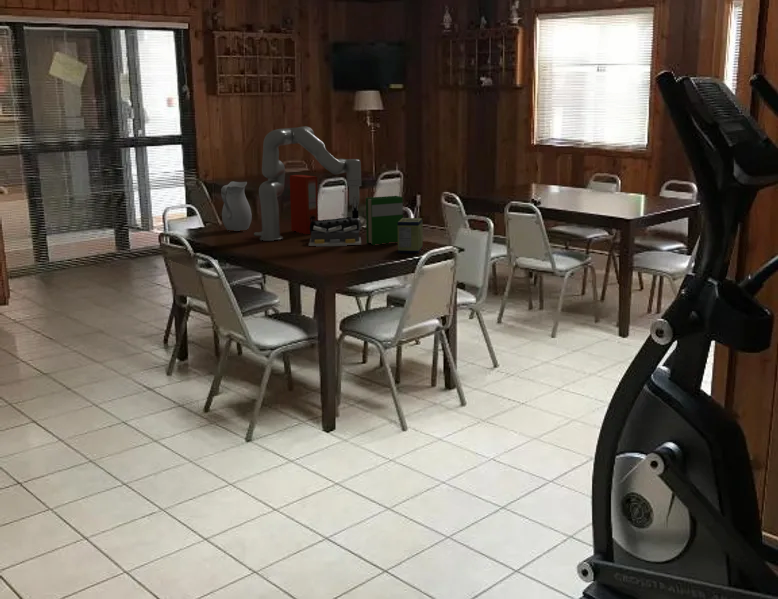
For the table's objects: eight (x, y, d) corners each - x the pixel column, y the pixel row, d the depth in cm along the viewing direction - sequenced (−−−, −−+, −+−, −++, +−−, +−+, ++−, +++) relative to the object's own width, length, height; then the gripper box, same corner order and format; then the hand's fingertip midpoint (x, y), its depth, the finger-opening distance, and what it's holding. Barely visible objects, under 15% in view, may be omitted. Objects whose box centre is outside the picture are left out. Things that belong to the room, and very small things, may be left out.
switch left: (312, 229, 442) (313, 226, 442) (313, 227, 448) (314, 225, 447) (325, 232, 443) (326, 230, 443) (325, 231, 448) (326, 228, 448)
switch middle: (328, 232, 443) (328, 229, 443) (329, 230, 448) (328, 228, 448) (341, 229, 443) (340, 226, 442) (341, 227, 448) (340, 224, 448)
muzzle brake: (309, 238, 463) (308, 219, 461) (353, 233, 478) (352, 215, 476) (318, 240, 455) (317, 221, 453) (362, 235, 470) (361, 216, 468)
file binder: (303, 229, 492) (301, 174, 484) (318, 233, 478) (317, 176, 470) (291, 231, 487) (289, 175, 480) (306, 235, 473) (304, 177, 466)
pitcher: (232, 228, 502) (229, 180, 496) (257, 229, 497) (255, 181, 490) (211, 234, 481) (207, 184, 474) (237, 235, 475) (234, 185, 468)
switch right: (344, 232, 443) (343, 229, 443) (344, 230, 449) (343, 228, 448) (356, 228, 443) (356, 226, 443) (356, 227, 449) (356, 224, 448)
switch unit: (308, 246, 436) (308, 234, 435) (310, 240, 455) (310, 228, 454) (361, 245, 437) (360, 233, 436) (360, 239, 456) (360, 227, 455)
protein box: (422, 248, 427) (422, 217, 423) (418, 254, 412) (418, 222, 408) (402, 248, 429) (402, 217, 425) (397, 253, 414) (397, 222, 410)
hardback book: (372, 245, 436) (371, 199, 431) (366, 243, 443) (365, 197, 437) (403, 242, 444) (402, 197, 438) (396, 240, 450) (396, 195, 445)
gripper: (347, 182, 447) (348, 216, 452) (346, 184, 433) (348, 220, 437) (361, 181, 448) (362, 216, 452) (361, 184, 433) (362, 219, 437)
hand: (355, 218), depth 444 cm, fingers closed
